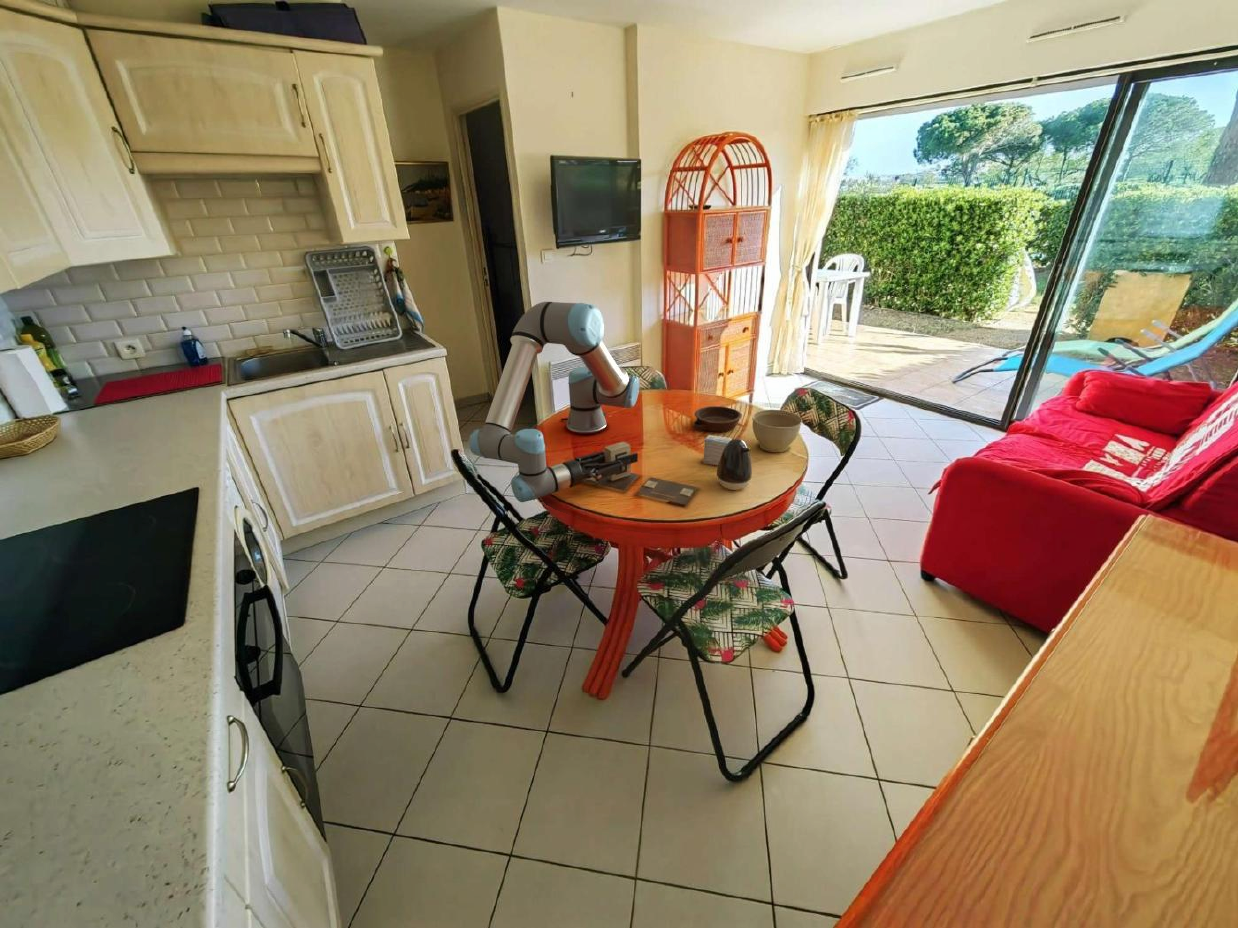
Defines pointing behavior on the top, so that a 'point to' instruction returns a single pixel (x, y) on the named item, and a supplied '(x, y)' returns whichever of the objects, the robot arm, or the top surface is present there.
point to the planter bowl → (775, 429)
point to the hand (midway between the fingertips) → (632, 454)
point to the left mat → (614, 482)
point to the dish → (716, 418)
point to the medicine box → (714, 448)
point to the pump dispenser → (735, 465)
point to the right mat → (668, 491)
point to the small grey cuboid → (613, 454)
